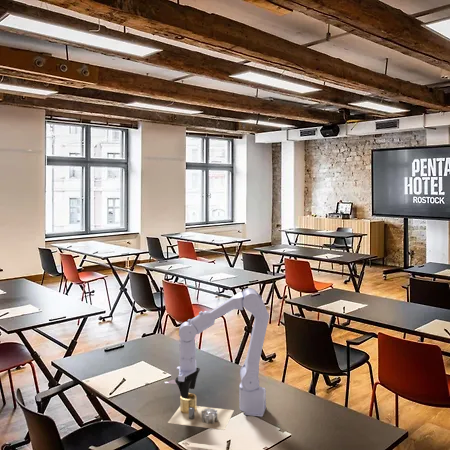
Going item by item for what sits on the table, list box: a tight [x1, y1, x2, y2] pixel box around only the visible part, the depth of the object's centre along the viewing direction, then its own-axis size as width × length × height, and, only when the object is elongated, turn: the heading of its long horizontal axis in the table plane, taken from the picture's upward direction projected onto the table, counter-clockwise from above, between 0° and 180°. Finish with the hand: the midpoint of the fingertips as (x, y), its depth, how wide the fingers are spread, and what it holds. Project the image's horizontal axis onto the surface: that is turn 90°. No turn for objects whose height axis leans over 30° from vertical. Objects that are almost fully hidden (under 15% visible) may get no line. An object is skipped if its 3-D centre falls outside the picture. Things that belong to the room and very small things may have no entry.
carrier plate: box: [167, 405, 235, 431], centre depth 168 cm, size 20×14×1 cm
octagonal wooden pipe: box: [179, 392, 198, 414], centre depth 172 cm, size 6×6×5 cm
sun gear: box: [201, 407, 218, 424], centre depth 165 cm, size 6×6×3 cm
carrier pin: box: [189, 407, 195, 420], centre depth 166 cm, size 2×2×4 cm
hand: (188, 393), depth 172 cm, fingers open, 7 cm apart
